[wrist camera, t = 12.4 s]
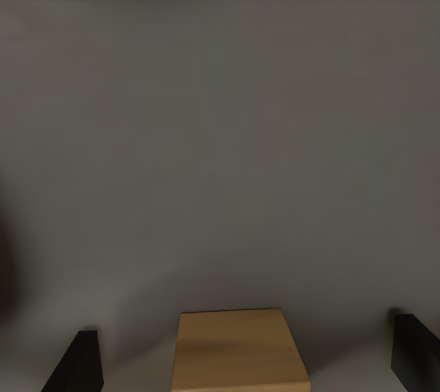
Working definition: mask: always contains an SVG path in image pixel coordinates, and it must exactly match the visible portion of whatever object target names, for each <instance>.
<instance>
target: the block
mask: <svg viewBox="0 0 440 392" xmlns="http://www.w3.org/2000/svg"><path fill="white" fill-rule="evenodd" d="M170 392H311V381H310V378H309V376H308V374H307V371H306V369H305V366H304V364H303V362H302V359H301V357H300V354H299V352H298V350H297V347H296V345H295V342H294V340H293V337H292V335H291V333H290V330H289V328H288V325H287V323H286V321H285V318H284V316H283V313H282V311H281V309H279V308H277V309H258V310H240V311H221V312H203V313H184V314H181V315H180V319H179V327H178V334H177V341H176V349H175V356H174V363H173V371H172V378H171V385H170Z"/></svg>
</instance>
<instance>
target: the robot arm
mask: <svg viewBox="0 0 440 392" xmlns="http://www.w3.org/2000/svg"><path fill="white" fill-rule="evenodd" d="M391 369H392V371H393V372H394V373H395V375H396V376H397V377H398V379H399V380H400V381H401V383H402V384H403V386H404V387H405V388H406V390H407V391H408V392H440V340H439V339H438V338H437V337H436V336H435V335H434V334H433V333H432V332H431V331H430V330H429V329H428V328H427V327H426V326H425V325H423V324H422V323H421V322H420V321H419V320H418V319H417V318H416V317H415V316H414V315H413V314H400V315H395V324H394V336H393V348H392V361H391ZM103 385H104V381H103V373H102V366H101V359H100V351H99V344H98V336H97V330H91V331H79V332H78V334H77V335H76V337H75V338H74V340H73V341H72V343H71V345H70V346H69V348H68V349H67V351H66V353H65V354H64V356H63V357H62V359H61V361H60V362H59V364H58V365H57V367H56V368H55V370H54V372H53V373H52V375H51V376H50V378H49V380H48V381H47V383H46V384H45V386H44V387H43V389H42V391H41V392H101V390H102V387H103Z"/></svg>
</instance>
